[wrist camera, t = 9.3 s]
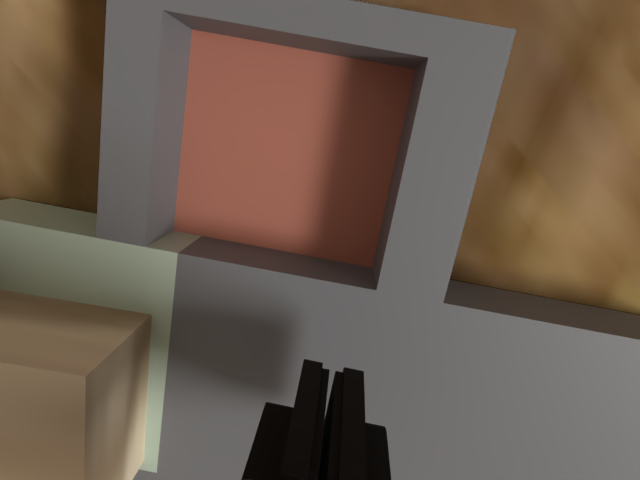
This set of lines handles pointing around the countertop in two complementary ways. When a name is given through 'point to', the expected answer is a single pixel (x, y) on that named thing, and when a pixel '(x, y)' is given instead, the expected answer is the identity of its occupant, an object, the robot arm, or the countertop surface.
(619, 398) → the board
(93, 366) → the birch block
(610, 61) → the countertop surface
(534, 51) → the countertop surface
